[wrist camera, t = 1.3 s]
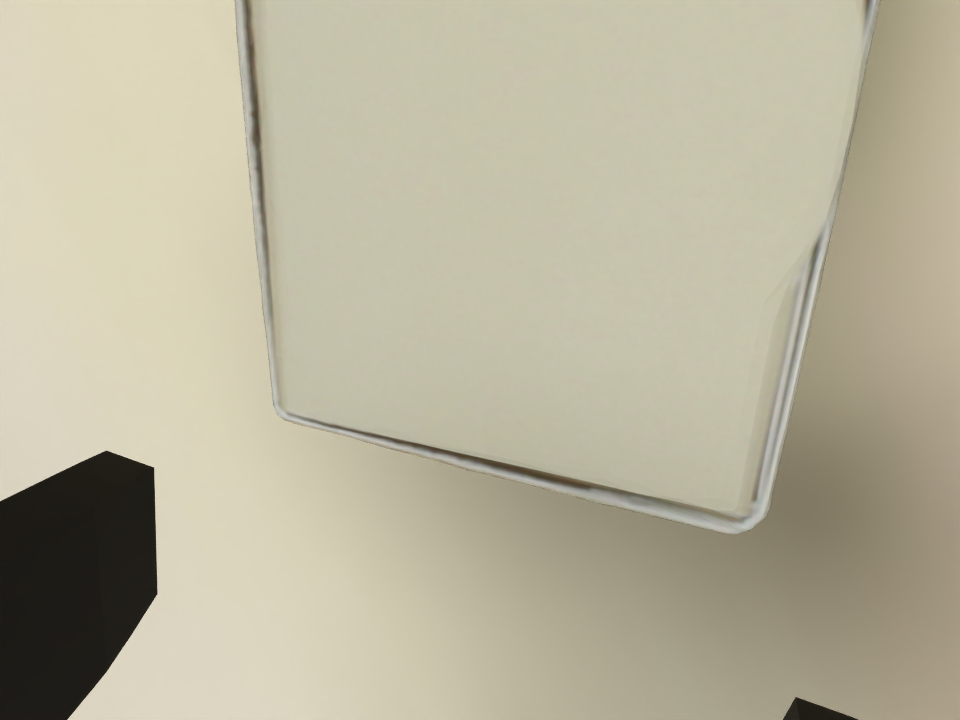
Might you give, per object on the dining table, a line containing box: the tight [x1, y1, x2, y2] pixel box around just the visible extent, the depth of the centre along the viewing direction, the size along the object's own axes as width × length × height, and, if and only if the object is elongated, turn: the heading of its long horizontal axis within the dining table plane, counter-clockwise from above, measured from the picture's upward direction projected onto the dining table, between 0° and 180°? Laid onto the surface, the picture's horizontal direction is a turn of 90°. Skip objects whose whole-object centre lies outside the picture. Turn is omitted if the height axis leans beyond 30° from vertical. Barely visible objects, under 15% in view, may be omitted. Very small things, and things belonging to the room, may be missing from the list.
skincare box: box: [235, 0, 880, 535], centre depth 11 cm, size 6×4×12 cm
